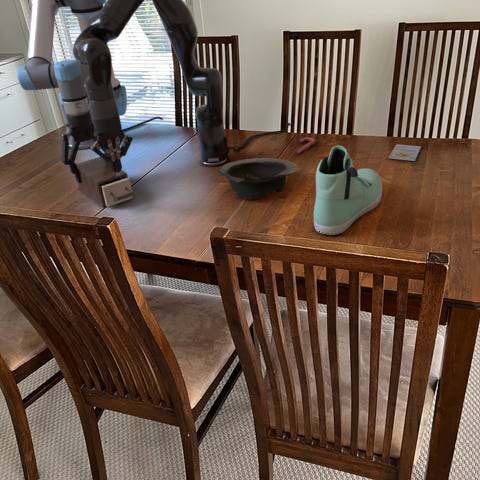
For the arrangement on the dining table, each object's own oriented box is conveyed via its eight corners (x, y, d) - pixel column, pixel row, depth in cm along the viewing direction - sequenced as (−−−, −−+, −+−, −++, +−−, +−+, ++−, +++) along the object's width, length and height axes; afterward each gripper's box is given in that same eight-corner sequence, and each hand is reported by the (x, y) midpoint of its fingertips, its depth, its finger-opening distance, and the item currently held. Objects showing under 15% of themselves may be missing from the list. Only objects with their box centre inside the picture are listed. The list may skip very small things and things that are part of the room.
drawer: (142, 203, 149) (138, 184, 146) (115, 213, 145) (111, 193, 141) (108, 180, 167) (104, 162, 163) (84, 188, 162) (79, 170, 159)
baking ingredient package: (388, 157, 167) (396, 143, 178) (388, 158, 167) (396, 144, 179) (414, 160, 163) (421, 145, 175) (414, 161, 164) (421, 147, 175)
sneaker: (389, 187, 148) (396, 123, 138) (356, 242, 123) (361, 168, 112) (346, 181, 154) (350, 119, 144) (306, 232, 129) (307, 161, 118)
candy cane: (285, 152, 180) (284, 148, 179) (304, 139, 190) (304, 135, 189) (299, 154, 177) (299, 151, 176) (318, 141, 187) (318, 137, 186)
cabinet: (132, 197, 156) (127, 173, 151) (103, 207, 151) (96, 182, 146) (106, 179, 170) (101, 156, 166) (79, 187, 165) (72, 164, 161)
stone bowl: (243, 213, 140) (240, 183, 136) (209, 189, 160) (205, 162, 156) (313, 190, 149) (312, 161, 144) (272, 170, 169) (270, 144, 165)
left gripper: (46, 123, 144) (65, 190, 155) (115, 106, 155) (129, 170, 166) (38, 118, 149) (57, 183, 161) (106, 102, 160) (119, 164, 172)
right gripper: (87, 122, 128) (101, 181, 137) (132, 111, 134) (143, 168, 143) (77, 116, 133) (91, 174, 142) (120, 106, 139) (132, 161, 148)
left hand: (94, 176), depth 164 cm, fingers closed on cabinet, 10 cm apart
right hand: (117, 171), depth 143 cm, fingers closed
